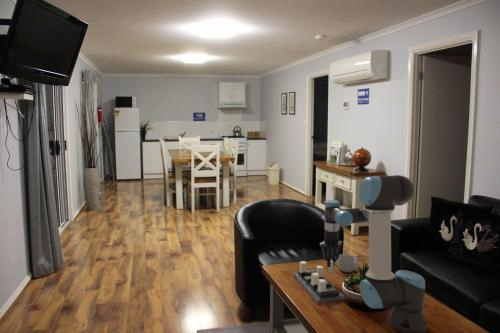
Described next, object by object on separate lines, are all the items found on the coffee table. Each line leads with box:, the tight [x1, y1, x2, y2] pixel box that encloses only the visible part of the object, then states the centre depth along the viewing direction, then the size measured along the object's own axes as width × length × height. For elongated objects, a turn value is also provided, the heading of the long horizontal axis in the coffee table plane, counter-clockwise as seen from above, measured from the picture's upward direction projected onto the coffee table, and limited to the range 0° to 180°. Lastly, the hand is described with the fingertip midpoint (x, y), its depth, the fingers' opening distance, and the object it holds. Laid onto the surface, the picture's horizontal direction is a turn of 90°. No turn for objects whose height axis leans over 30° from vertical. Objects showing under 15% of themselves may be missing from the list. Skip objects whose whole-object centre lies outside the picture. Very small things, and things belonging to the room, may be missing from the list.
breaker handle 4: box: [318, 279, 326, 292], centre depth 194 cm, size 3×3×5 cm
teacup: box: [337, 253, 359, 273], centre depth 227 cm, size 14×11×8 cm
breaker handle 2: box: [311, 273, 319, 285], centre depth 201 cm, size 3×3×5 cm
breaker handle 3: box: [315, 265, 324, 277], centre depth 211 cm, size 3×3×5 cm
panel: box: [293, 268, 345, 304], centre depth 207 cm, size 32×14×4 cm, turn 15°
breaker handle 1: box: [299, 260, 308, 273], centre depth 217 cm, size 3×3×5 cm
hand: (330, 272), depth 212 cm, fingers closed
